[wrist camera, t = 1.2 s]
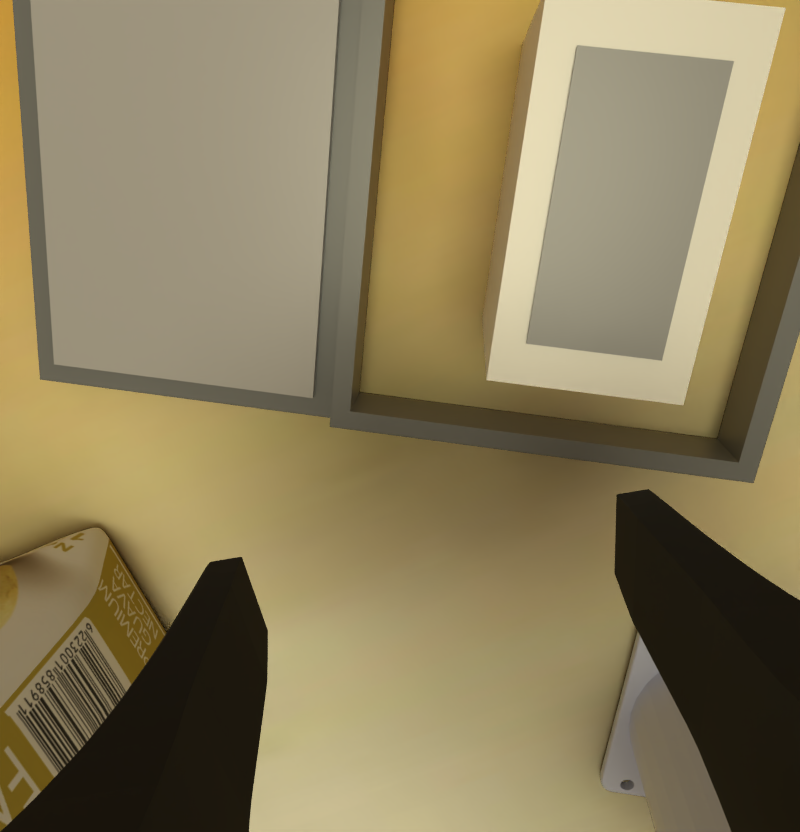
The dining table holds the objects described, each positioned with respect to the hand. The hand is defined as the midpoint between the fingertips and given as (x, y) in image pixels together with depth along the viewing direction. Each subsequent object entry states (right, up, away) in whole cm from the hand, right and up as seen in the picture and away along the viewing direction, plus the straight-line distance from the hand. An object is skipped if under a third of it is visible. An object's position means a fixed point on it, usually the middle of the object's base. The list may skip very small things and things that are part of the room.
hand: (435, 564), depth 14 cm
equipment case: (0, +10, +8) cm, 13 cm away
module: (+5, +9, +8) cm, 13 cm away
